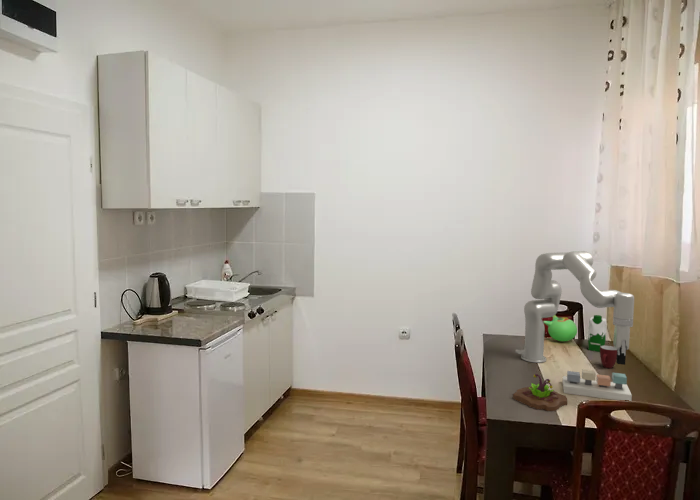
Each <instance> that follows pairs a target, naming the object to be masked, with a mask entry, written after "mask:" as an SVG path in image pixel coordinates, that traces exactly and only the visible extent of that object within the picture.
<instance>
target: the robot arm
mask: <svg viewBox="0 0 700 500" xmlns="http://www.w3.org/2000/svg"><path fill="white" fill-rule="evenodd" d="M593 263H594V257H593V256H592V254H591V253H590V252H588V251H585V250H579V251H568V252H548V253H547V252H546V253H545V252H544V253H542V254H539V256H537V258H536V259H535V265H534V267H535V268H534V275H533V279H532V284H531V289H530V295H531V296H532V298H534V299H535V300H533V299H532V300H529V301H527V302H526V303H525V304H524V306H523V311H524V320H525V330H524V348H523V349H518V348H517V349H515V354H517V355H521V356H520V359H522V360H523V361H525V362H529V363H537V364H538V363H540V364H541V363H544V362H547V357H546V356H545V355H544V350H545V349H544V347H545V330H546V329H545V323H543V321H544V320H543V319H546V318H551V317H552V318H553V316H554V315H556V314H557V313H558V310H559V305H560V302H561V297H562V294H563V293H562V292H563V291H562V286H561V284H560V282H559V281H557V280H552V279H553V272H552V270H553V271H554V270H558V271H559V270H560V271H561V270H568V271H569V272H570V273H571V275H573V277H575V278H576V280H577V281H578V282H579V290H580V292H581V295H582V296H583V298H584V299H585V300H586V301H587V302H588V303H589V304H591V306H593V307H595V308H598V309H604V308H613V317H612V325H613V326H614V332H613V341H612V342H613V343H612V344H613V347H615V348H616V349H617V359H616V364H617V365H626V354H627V353H626V352H627V351H628V350H629V349H630V348H629V347H630V339H631V338H630V335H631V328H632V327H634V313H635V295H633V294H632V293H629V292H622V291H619V290H617V289H603V290H599V289H598V288H597V287H596V286H595V285H594V284H593V281H594V280H595V278H596V277H597V271H596V270H595V268H593V267H592V266H593Z"/></svg>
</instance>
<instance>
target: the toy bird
mask: <svg viewBox="0 0 700 500" xmlns="http://www.w3.org/2000/svg"><path fill="white" fill-rule="evenodd" d="M542 321H543V323H544V325H546V326H547V331H548V334H549V336H550V337H551V339H554V340H556V341H558V342H569V341H571V340H573V339H574V338H575V337H576V336H577V333H578V326H577V325H576V323H575V322H574V321H573V320H572V319H570V318H569V317H559V316H557V315H556V314H555V315H554V316H553V317H552V320H551V321H550V320H542Z"/></svg>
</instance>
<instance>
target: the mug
mask: <svg viewBox="0 0 700 500" xmlns="http://www.w3.org/2000/svg"><path fill="white" fill-rule="evenodd" d="M599 355H600V362H601V365H602V366H603V368H607V369H612V368H613V367H614V365H616V364H617V362H616V359H617V349H616V348H615V347H614V345H613V346H611V345H605V346H600V352H599Z"/></svg>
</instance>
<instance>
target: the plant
mask: <svg viewBox="0 0 700 500" xmlns="http://www.w3.org/2000/svg"><path fill="white" fill-rule="evenodd" d="M537 377H538V380H539V382H538V383H537V384H535V383H532V382H531V383H530V384H531V385H530V386H526V387H522V388H519V389H516V392H514V393H513V394H512V399H514V401H517V402H520V403H521V404H523V405H526V406H528V407H530V408H532V409H536V410H545V411H546V412H555V411H558V410H559V409H560V408H562V407H564V406H567V405H568V398H567V396H566V394H562V393H559V392H557V391H555V390H554V389H553V387H554V386H553V384H552V383H551V382H552V381H551V379H549V378H546V379H544V381H542V378H541V376H540V375H539V373H534V374H533V378H537ZM548 384H549V385H548Z"/></svg>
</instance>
